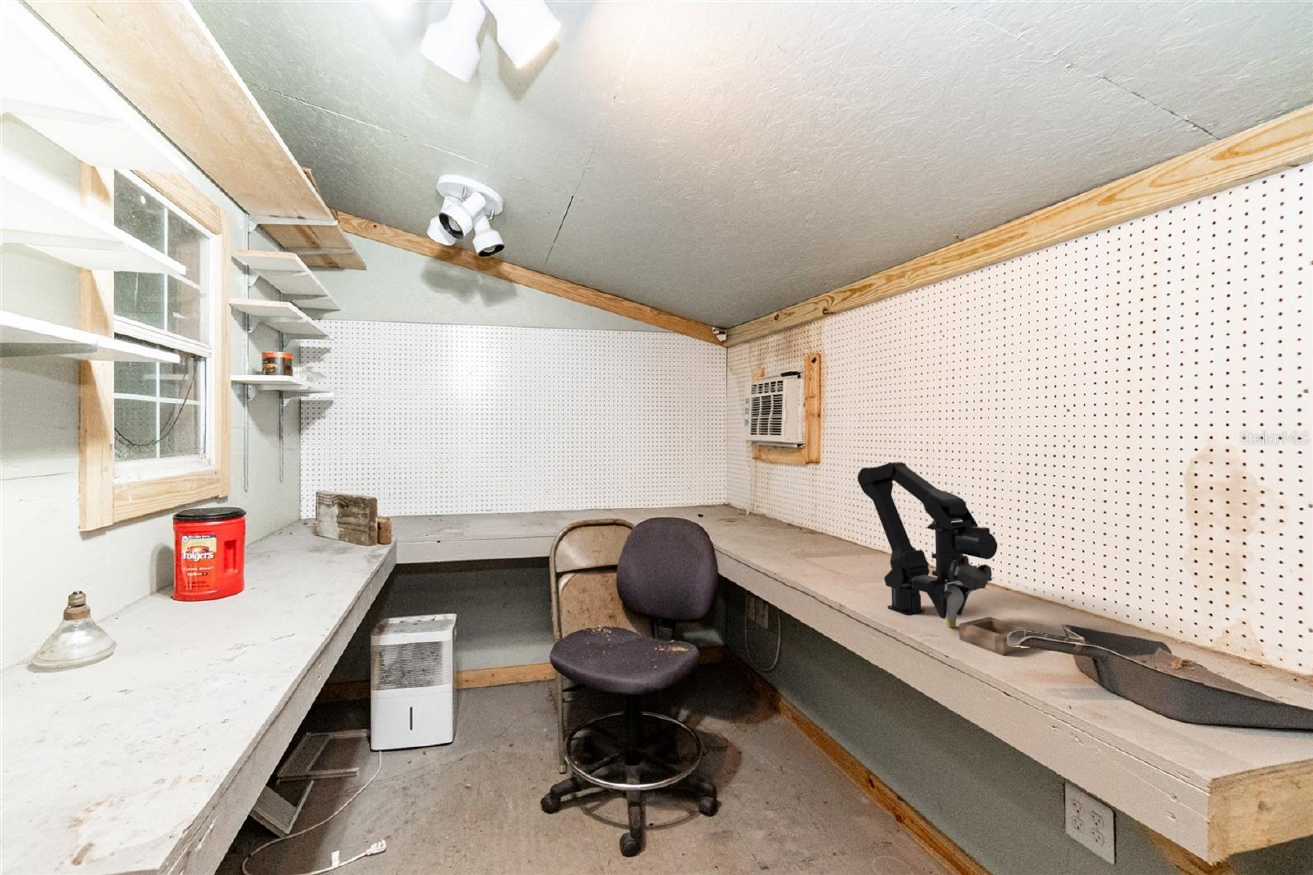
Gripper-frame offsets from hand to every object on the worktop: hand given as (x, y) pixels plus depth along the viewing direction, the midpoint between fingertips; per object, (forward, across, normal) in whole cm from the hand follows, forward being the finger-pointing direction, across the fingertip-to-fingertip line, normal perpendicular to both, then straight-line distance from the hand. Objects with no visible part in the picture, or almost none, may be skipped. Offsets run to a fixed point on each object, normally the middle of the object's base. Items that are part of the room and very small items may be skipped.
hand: (950, 616), depth 129 cm
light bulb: (+3, 0, 0) cm, 3 cm away
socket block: (+2, 0, -11) cm, 11 cm away
